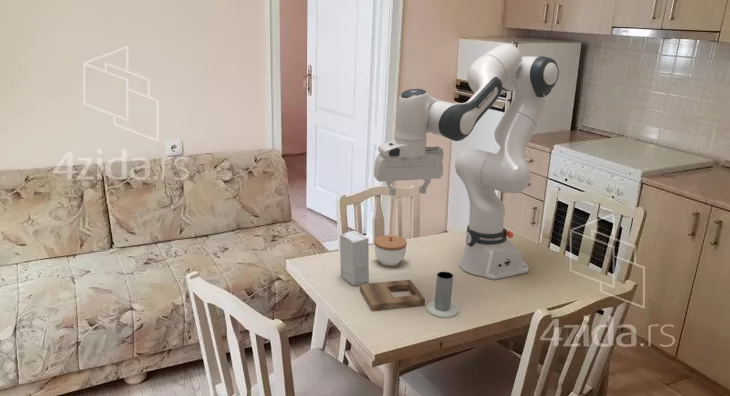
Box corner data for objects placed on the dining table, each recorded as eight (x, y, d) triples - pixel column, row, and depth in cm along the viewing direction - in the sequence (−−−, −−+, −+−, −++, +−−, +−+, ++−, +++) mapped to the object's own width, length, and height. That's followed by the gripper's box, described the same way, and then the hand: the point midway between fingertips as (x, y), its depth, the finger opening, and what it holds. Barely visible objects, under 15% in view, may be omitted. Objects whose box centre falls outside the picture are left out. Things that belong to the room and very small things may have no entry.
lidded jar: (375, 269, 195) (377, 243, 192) (371, 256, 205) (372, 230, 202) (408, 268, 196) (409, 242, 193) (402, 255, 206) (403, 230, 203)
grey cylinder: (440, 312, 167) (442, 279, 164) (431, 305, 171) (433, 273, 168) (453, 309, 169) (456, 276, 166) (444, 302, 173) (447, 270, 170)
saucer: (450, 300, 176) (450, 298, 176) (463, 316, 168) (463, 313, 167) (421, 303, 173) (422, 301, 173) (433, 319, 165) (433, 316, 165)
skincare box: (369, 282, 185) (370, 238, 181) (352, 287, 182) (354, 242, 178) (354, 272, 192) (355, 229, 187) (338, 276, 189) (339, 232, 184)
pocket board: (409, 285, 185) (410, 279, 184) (424, 305, 173) (425, 299, 172) (359, 290, 180) (360, 284, 180) (371, 311, 168) (372, 304, 168)
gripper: (439, 143, 174) (436, 188, 179) (373, 146, 169) (371, 192, 173) (448, 148, 169) (444, 195, 173) (379, 151, 163) (377, 199, 167)
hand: (407, 193), depth 173 cm, fingers open, 8 cm apart
